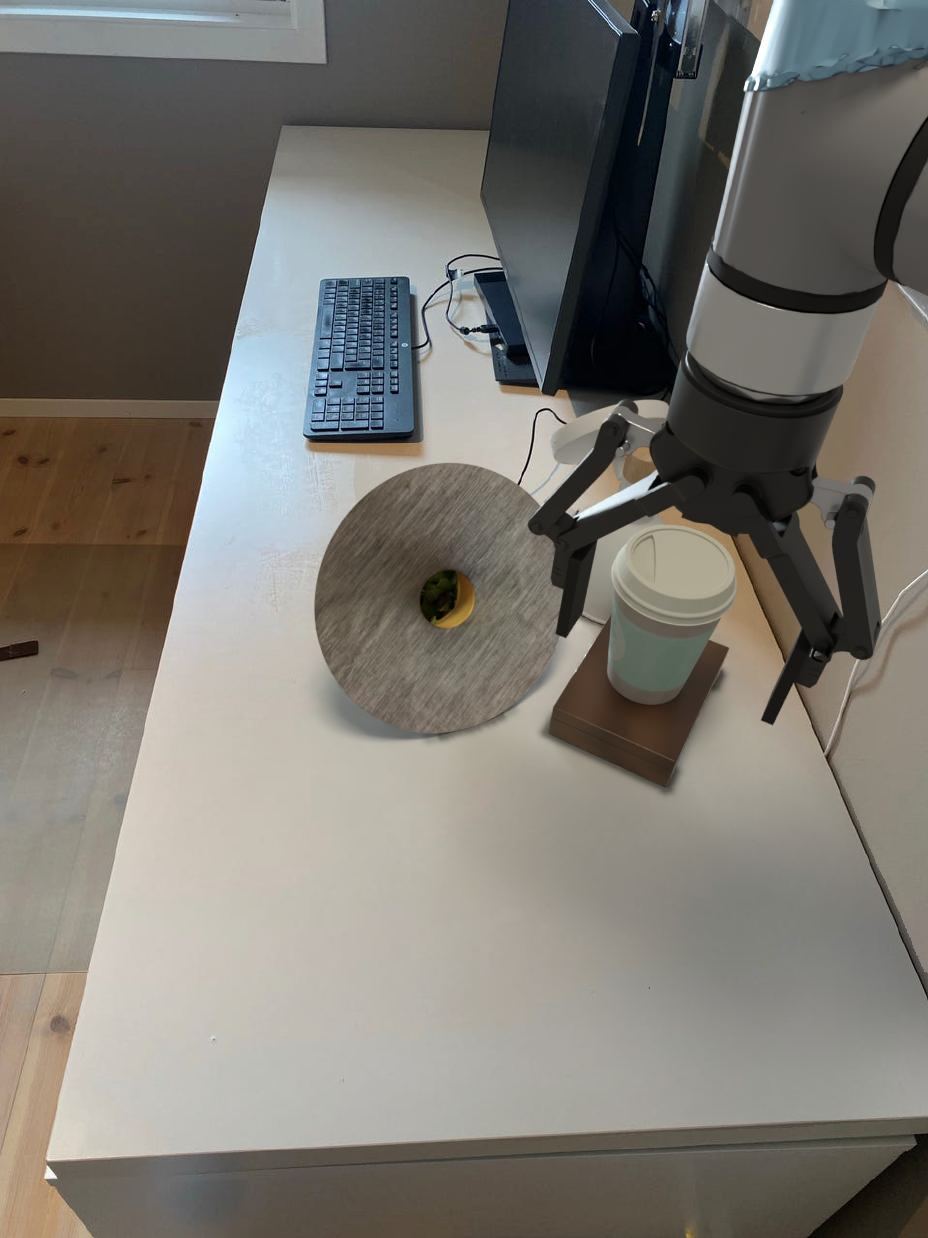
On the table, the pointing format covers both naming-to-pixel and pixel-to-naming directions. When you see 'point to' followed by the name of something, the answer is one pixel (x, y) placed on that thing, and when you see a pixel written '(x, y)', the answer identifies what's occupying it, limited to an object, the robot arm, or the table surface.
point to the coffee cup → (665, 609)
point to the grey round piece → (438, 599)
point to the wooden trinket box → (632, 713)
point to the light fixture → (574, 446)
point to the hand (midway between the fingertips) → (667, 664)
